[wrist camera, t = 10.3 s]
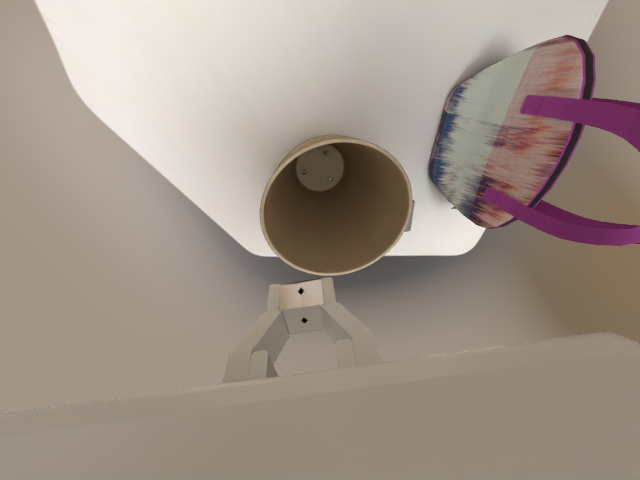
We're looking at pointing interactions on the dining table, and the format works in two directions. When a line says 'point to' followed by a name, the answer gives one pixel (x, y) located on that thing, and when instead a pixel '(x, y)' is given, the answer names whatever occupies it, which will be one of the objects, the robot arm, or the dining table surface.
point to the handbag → (527, 140)
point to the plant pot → (335, 205)
